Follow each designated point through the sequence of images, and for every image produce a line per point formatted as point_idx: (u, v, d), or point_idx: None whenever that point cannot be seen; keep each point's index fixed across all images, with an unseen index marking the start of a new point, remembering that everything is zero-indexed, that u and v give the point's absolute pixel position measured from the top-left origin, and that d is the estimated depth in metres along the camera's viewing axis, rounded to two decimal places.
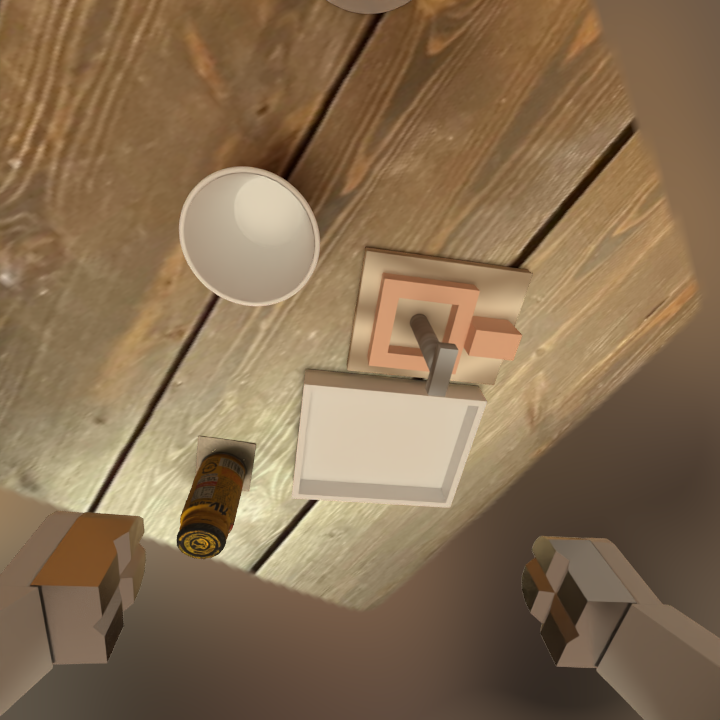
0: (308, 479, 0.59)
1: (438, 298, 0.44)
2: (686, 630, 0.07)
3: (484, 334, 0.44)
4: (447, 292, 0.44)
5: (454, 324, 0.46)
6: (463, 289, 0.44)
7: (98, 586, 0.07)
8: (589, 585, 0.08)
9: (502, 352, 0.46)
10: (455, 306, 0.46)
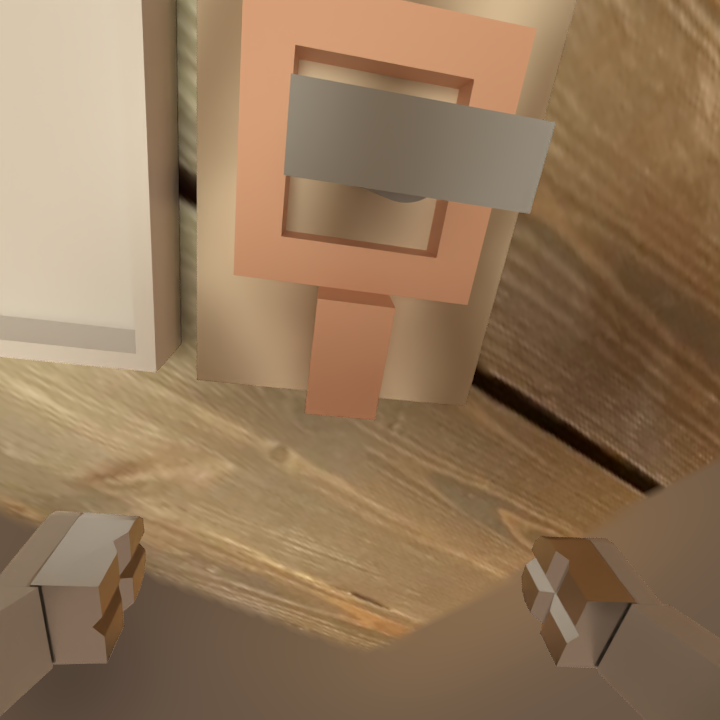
0: None
1: None
2: (686, 630, 0.07)
3: (380, 331, 0.17)
4: (474, 224, 0.17)
5: (385, 253, 0.18)
6: (475, 264, 0.18)
7: (98, 586, 0.07)
8: (589, 585, 0.08)
9: (327, 384, 0.18)
10: (421, 253, 0.19)
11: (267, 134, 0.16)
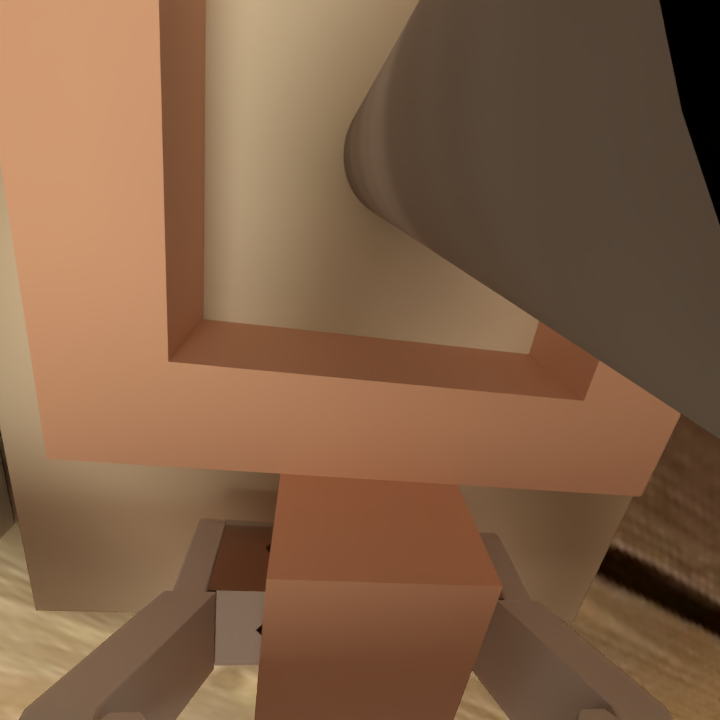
0: None
1: None
2: (547, 627, 0.07)
3: (453, 639, 0.06)
4: None
5: (456, 393, 0.07)
6: None
7: None
8: None
9: None
10: (531, 375, 0.08)
11: (87, 56, 0.05)
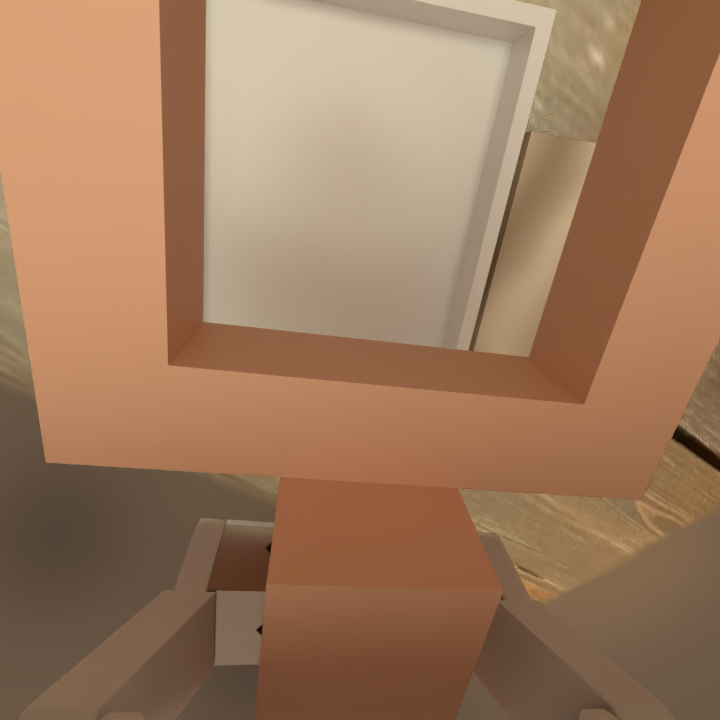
0: None
1: (670, 264, 0.06)
2: (547, 628, 0.07)
3: (453, 643, 0.06)
4: (694, 321, 0.07)
5: (456, 397, 0.07)
6: (676, 414, 0.07)
7: None
8: None
9: None
10: (531, 378, 0.08)
11: (87, 60, 0.05)
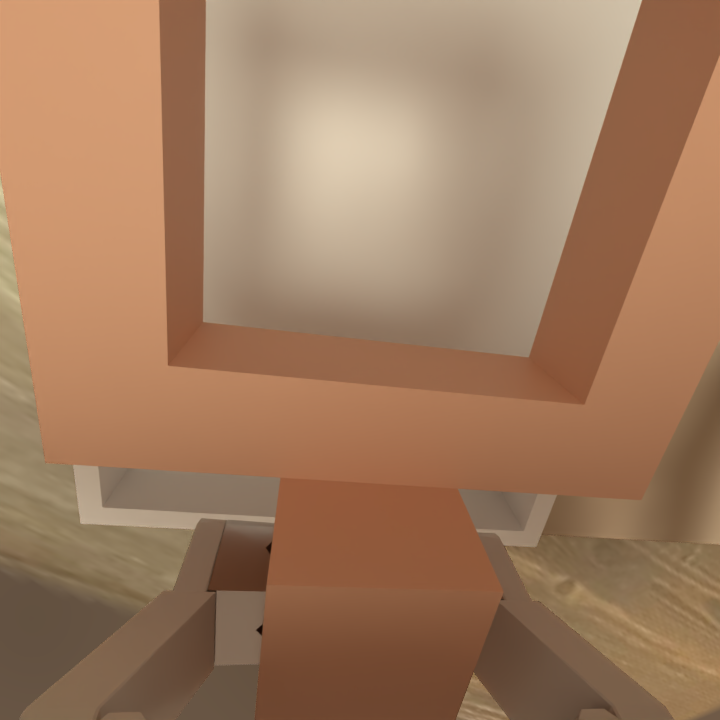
0: None
1: (670, 264, 0.06)
2: (547, 627, 0.07)
3: (453, 644, 0.06)
4: (693, 322, 0.07)
5: (456, 397, 0.07)
6: (676, 414, 0.07)
7: None
8: None
9: None
10: (531, 378, 0.08)
11: (87, 59, 0.05)
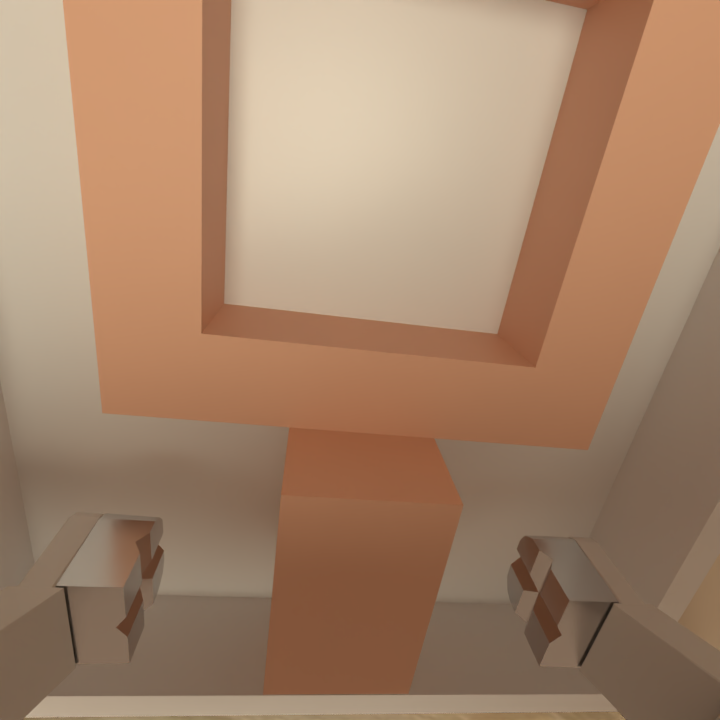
0: None
1: (598, 252, 0.08)
2: (668, 629, 0.07)
3: (426, 550, 0.07)
4: (620, 299, 0.08)
5: (431, 360, 0.08)
6: (612, 376, 0.09)
7: (123, 587, 0.07)
8: (571, 584, 0.08)
9: (310, 645, 0.08)
10: (495, 349, 0.09)
11: (148, 100, 0.06)
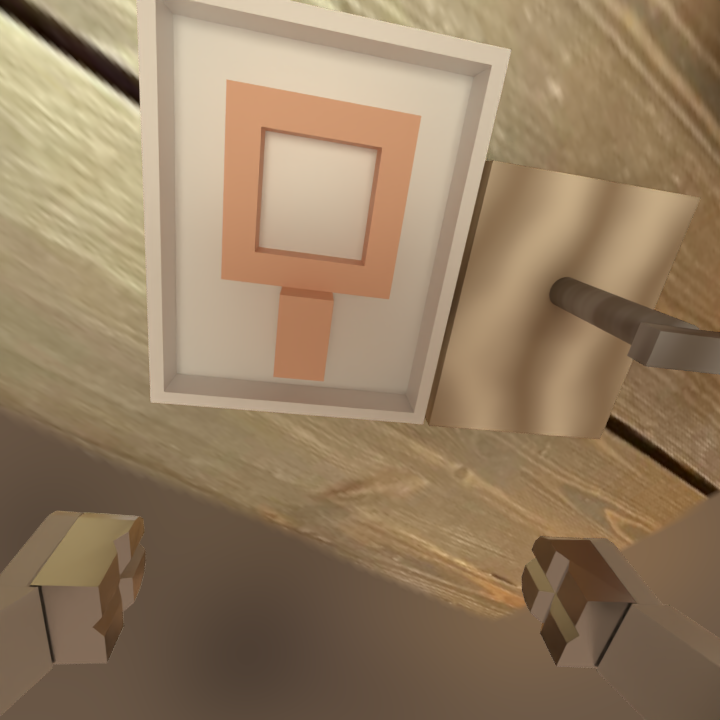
0: (173, 44, 0.22)
1: (378, 227, 0.25)
2: (687, 630, 0.07)
3: (324, 317, 0.24)
4: (389, 242, 0.25)
5: (328, 262, 0.25)
6: (392, 270, 0.26)
7: (98, 586, 0.07)
8: (589, 585, 0.08)
9: (288, 355, 0.25)
10: (355, 262, 0.26)
11: (243, 183, 0.23)
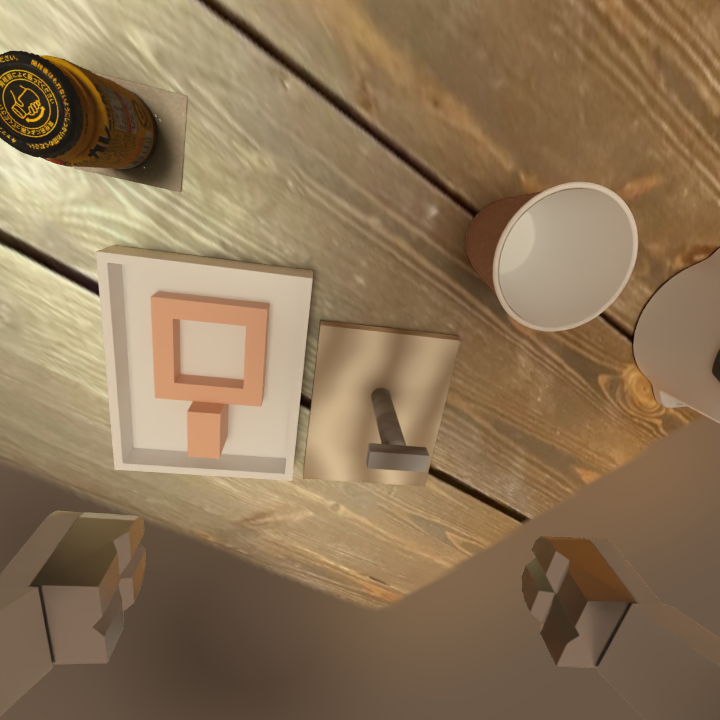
0: (122, 271, 0.38)
1: (249, 367, 0.41)
2: (686, 630, 0.07)
3: (215, 423, 0.41)
4: (257, 375, 0.41)
5: (220, 387, 0.41)
6: (261, 390, 0.42)
7: (98, 586, 0.07)
8: (589, 585, 0.08)
9: (196, 444, 0.41)
10: (239, 384, 0.42)
11: (164, 347, 0.39)
